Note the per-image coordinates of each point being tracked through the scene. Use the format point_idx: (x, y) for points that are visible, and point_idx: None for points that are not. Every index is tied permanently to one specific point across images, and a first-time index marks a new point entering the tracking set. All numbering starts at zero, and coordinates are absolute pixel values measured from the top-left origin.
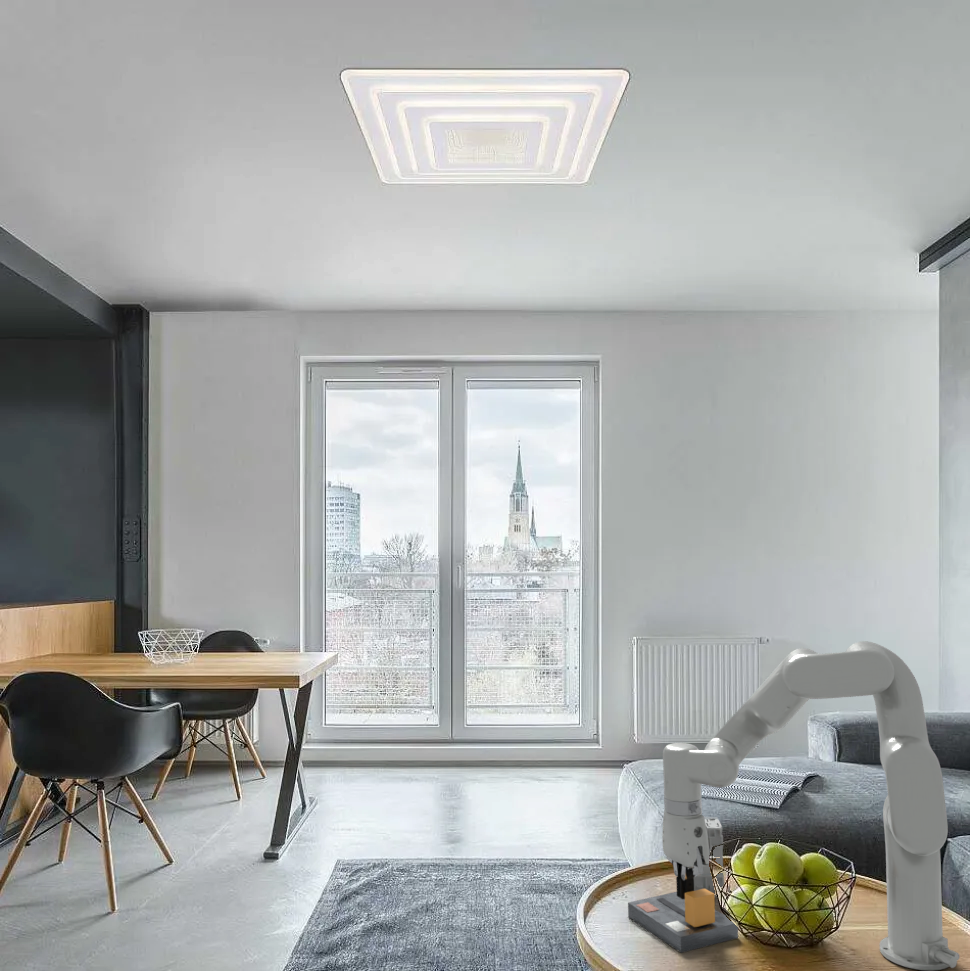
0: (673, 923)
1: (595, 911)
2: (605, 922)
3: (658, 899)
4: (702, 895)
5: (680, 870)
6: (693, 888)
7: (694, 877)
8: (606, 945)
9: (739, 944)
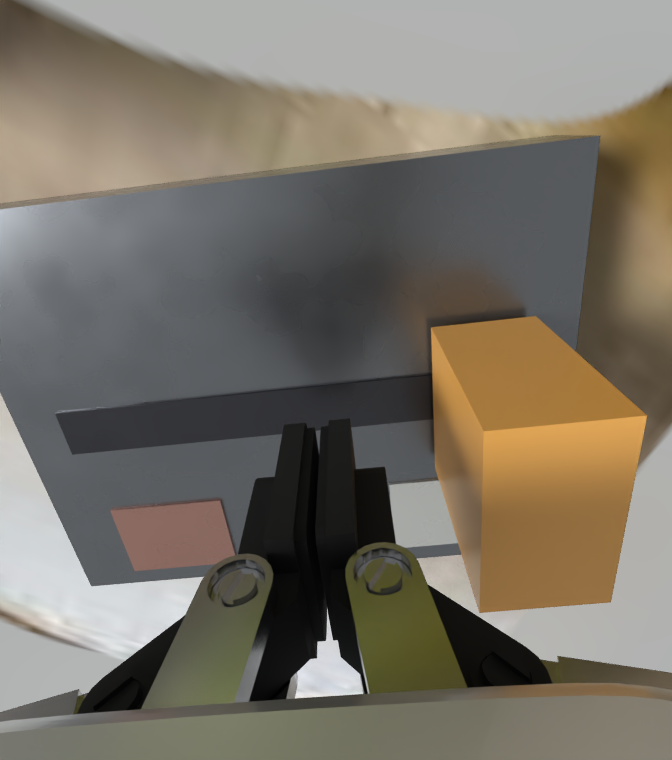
0: (410, 514)
1: (41, 610)
2: (155, 615)
3: (78, 447)
4: (607, 526)
5: (271, 679)
6: (351, 458)
7: (408, 559)
8: (343, 670)
9: (619, 181)
